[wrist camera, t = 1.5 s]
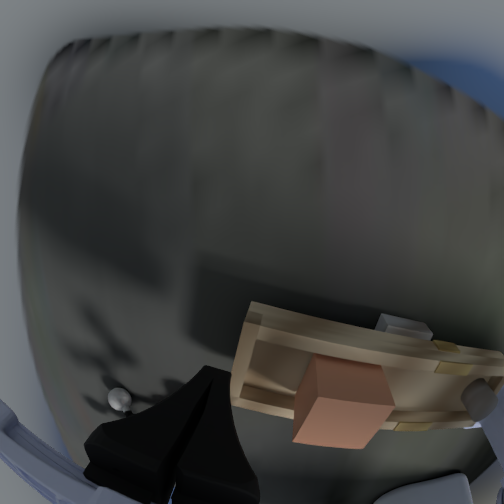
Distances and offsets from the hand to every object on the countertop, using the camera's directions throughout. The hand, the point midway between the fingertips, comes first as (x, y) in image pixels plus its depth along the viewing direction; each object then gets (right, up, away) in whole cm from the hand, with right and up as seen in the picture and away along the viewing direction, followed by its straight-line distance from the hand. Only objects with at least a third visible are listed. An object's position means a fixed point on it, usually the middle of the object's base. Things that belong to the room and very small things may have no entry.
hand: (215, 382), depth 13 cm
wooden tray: (+11, -1, +4) cm, 12 cm away
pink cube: (+7, -1, +2) cm, 7 cm away
